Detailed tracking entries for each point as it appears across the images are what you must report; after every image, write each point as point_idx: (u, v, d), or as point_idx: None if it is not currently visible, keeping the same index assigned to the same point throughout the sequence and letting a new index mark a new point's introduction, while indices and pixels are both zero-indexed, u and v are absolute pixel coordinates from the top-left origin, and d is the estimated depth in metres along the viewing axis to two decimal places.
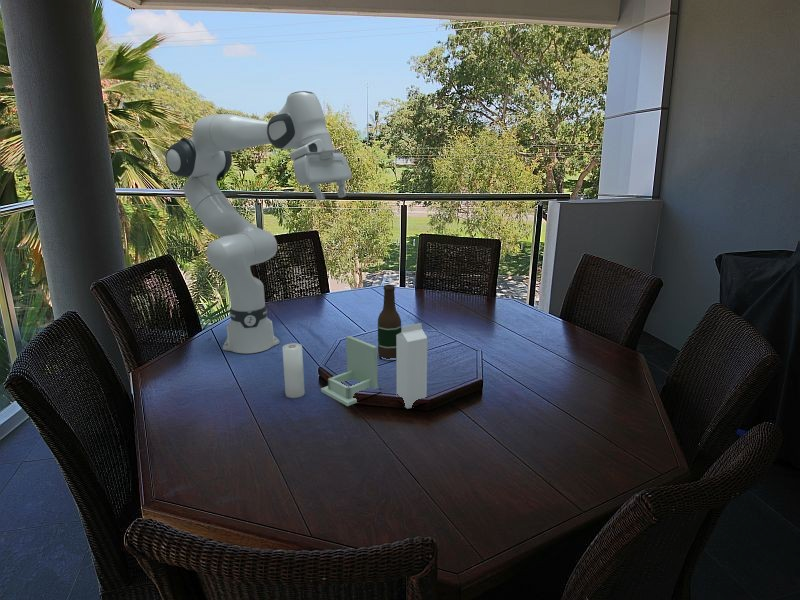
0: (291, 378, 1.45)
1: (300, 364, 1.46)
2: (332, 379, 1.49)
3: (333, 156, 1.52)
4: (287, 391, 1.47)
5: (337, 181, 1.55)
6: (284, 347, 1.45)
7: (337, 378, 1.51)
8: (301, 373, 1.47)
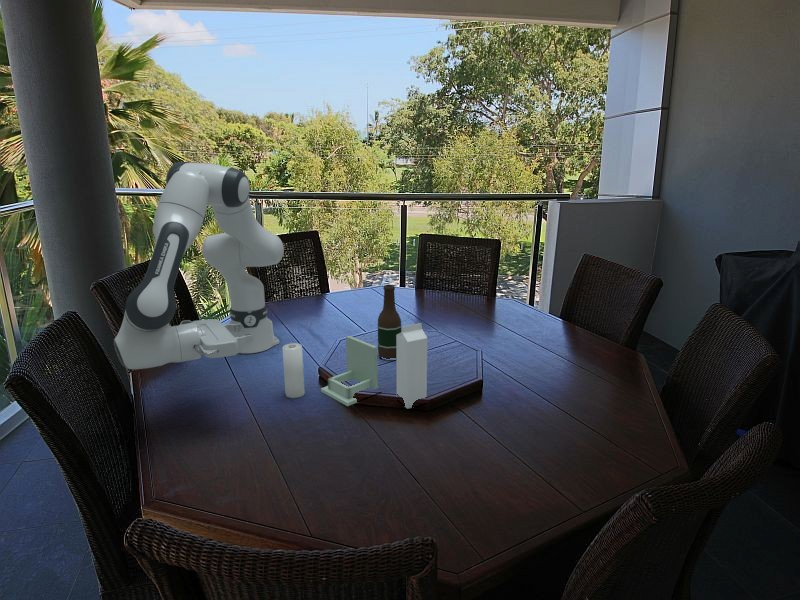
0: (291, 378, 1.45)
1: (300, 364, 1.46)
2: (332, 379, 1.49)
3: None
4: (287, 391, 1.47)
5: None
6: (284, 347, 1.45)
7: (337, 378, 1.51)
8: (301, 373, 1.47)
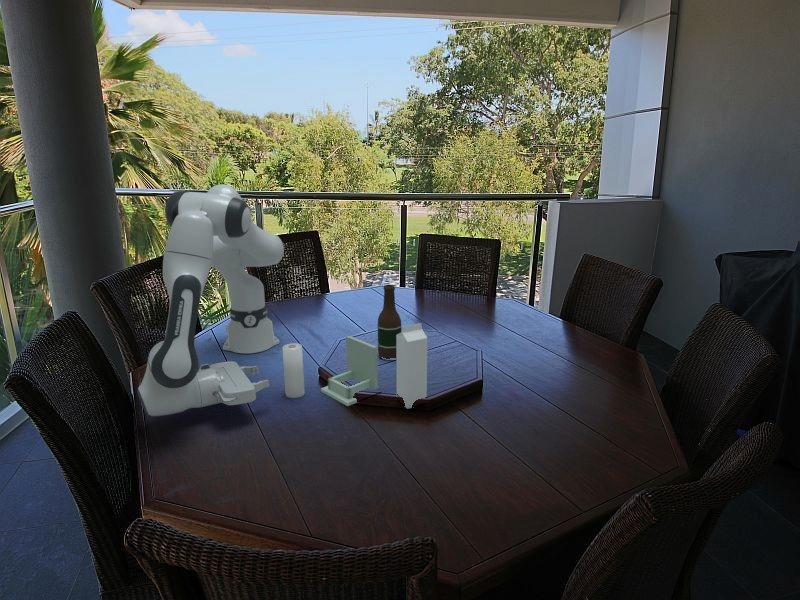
0: (291, 378, 1.45)
1: (300, 364, 1.46)
2: (332, 379, 1.49)
3: None
4: (287, 391, 1.47)
5: None
6: (284, 347, 1.45)
7: (337, 378, 1.51)
8: (301, 373, 1.47)
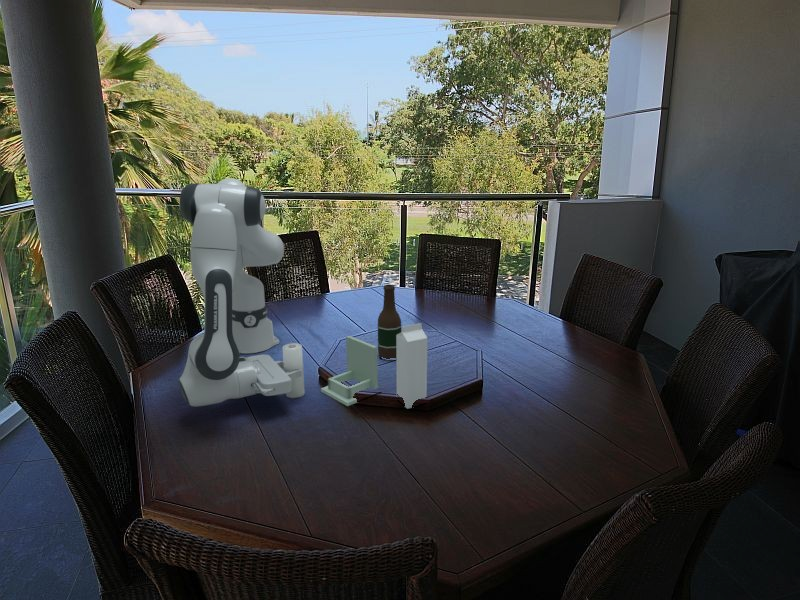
0: None
1: (300, 364, 1.46)
2: (332, 379, 1.49)
3: None
4: None
5: None
6: (284, 347, 1.45)
7: (337, 378, 1.51)
8: None
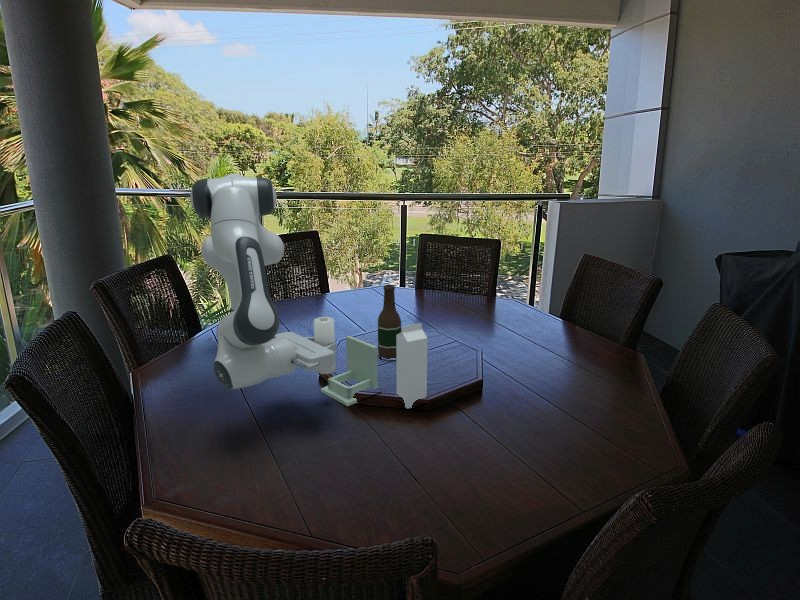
0: None
1: (333, 338, 1.39)
2: (332, 379, 1.49)
3: None
4: None
5: None
6: (316, 321, 1.38)
7: (337, 378, 1.51)
8: None
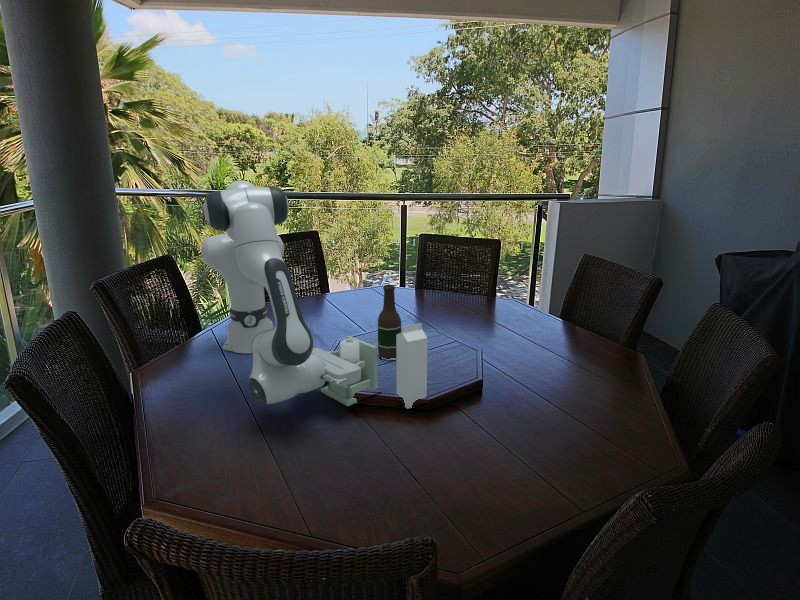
0: None
1: (358, 358, 1.47)
2: None
3: None
4: None
5: None
6: (342, 342, 1.46)
7: None
8: None
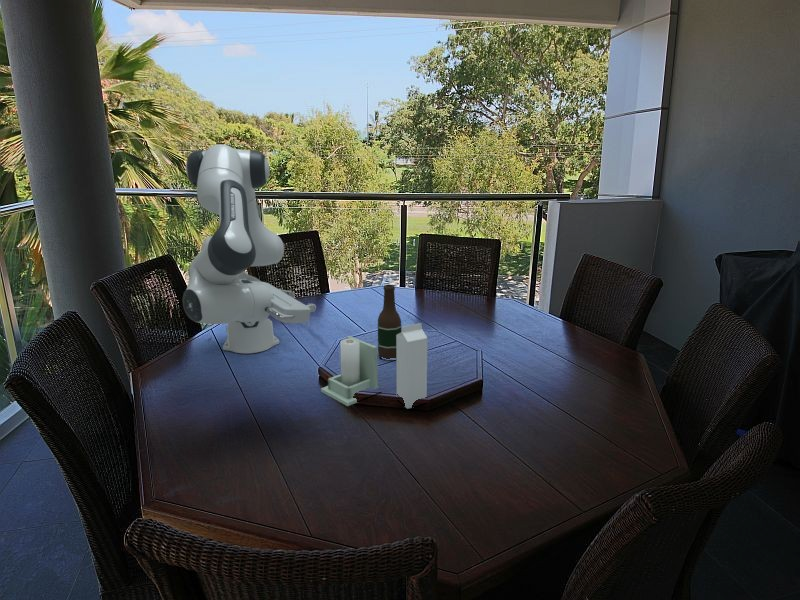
0: (351, 373, 1.46)
1: (358, 358, 1.47)
2: (332, 379, 1.49)
3: None
4: None
5: None
6: (342, 343, 1.45)
7: (337, 378, 1.51)
8: (359, 367, 1.48)
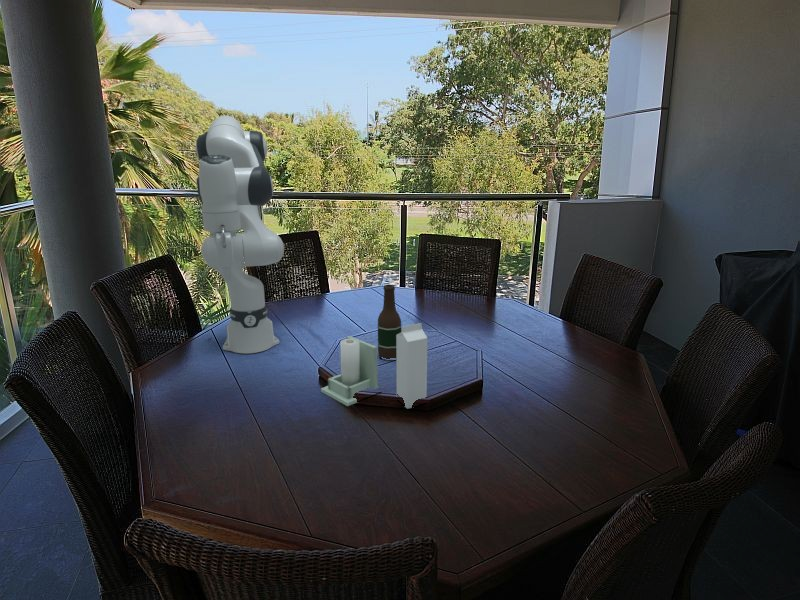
0: (350, 373, 1.46)
1: (358, 358, 1.47)
2: (332, 379, 1.49)
3: None
4: None
5: None
6: (342, 343, 1.45)
7: (337, 378, 1.51)
8: (359, 367, 1.48)
